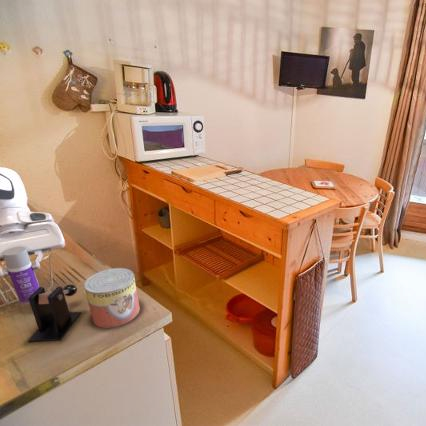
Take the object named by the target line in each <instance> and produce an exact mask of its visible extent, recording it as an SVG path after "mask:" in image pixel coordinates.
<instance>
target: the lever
mask: <svg viewBox="0 0 426 426" xmlns="http://www.w3.org/2000/svg"><path fill="white" fill-rule="evenodd" d="M62 289H63V292H64V296H65V297H72V296H74V295H75V294H77V291H78V287H77V286H76V285H75V284H71V283H70V284H66V285H65V286H64V287H62ZM52 292H53V291H45V293H42V294H39V303H38V304H49V302H48V298H47V297H48V296H49V295H50V294H51V293H52Z"/></svg>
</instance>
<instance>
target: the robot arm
mask: <svg viewBox="0 0 426 426" xmlns="http://www.w3.org/2000/svg"><path fill="white" fill-rule="evenodd" d="M28 200H29V199H28V194H27V191H26V187H25V184H24V182H23V180H22V178H21V176H20V175H19V174H18V173H17V171H15V170H13V169H11V168H9V167H8V168H7V167H3V166H0V277H1V278H5V277H10V275H9V272H8V269H7V267H4V268H3V267H2V262H5V260H4V257H3V254H2V253H3V252H4V251H5V250H7V249H10V248H13V247H25V248H26V250H27V253H28V255H29V256H34V255H35V257H36V258H35V260H34V261H31V265H32V269H33V270H34V271H36V270H40V269H41V261H42V260H43V258H44V254H43V253H47V252H51V251H57V250H60V249H64V248H65V247H66V245H67V244H66V240H65V237H64V235H63V233H62V230H61V228H60V227H59V225H58V224H57V223H56V222H55V219H54V217H53V216H52V213H51V214H50V213H49V212H39V211H38V212H37V211H32V210H31V208H30V207H29V206H28Z"/></svg>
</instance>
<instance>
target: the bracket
mask: <svg viewBox="0 0 426 426" xmlns="http://www.w3.org/2000/svg"><path fill="white" fill-rule="evenodd" d="M45 292H46V289H45V287H44V286H39V288H38V289H37V290H36V291H35V292H34V293H33V294H32V295H31V296H30V297H29V298H28V300H29V302H30V304H29V305H30V308H31V311H32V314H33V316H34V320H35V322H36V326H37V328H38V329H37V330H36V331H35V332H34V333H33V335H32V336H31V337H30V338H29V339H28V341H27V342H28V343H44V342H45V343H46V342H58V341H62V340H63V338H64V337H65V336H66V334H67V333H68V332H69V331H70V330H71V328H72V327H73V325H74V324H75V323H76V321H77V320H78V318H79V317H80V316H81V315H82V311H72V312H70V309H69V306H68V303H67V300H66V296H65V295H64V292H63V286H61V285H60V286H56V288H54V289H53V291H51V292H52V293H51V294H50V295H49V296H48V297H47V298H48V302H49V304H38V303H39V294H42V293H45Z"/></svg>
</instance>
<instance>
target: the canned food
mask: <svg viewBox="0 0 426 426" xmlns="http://www.w3.org/2000/svg"><path fill="white" fill-rule="evenodd" d="M83 288H84V290H85V294H86V299H87V302H88V306H89V310H90V314H91V318H92V321H93V325H95V326H96V327H99V328H103V329H108V328H116V327H120V326H123V325H125V324H127V323H129V322H131V321H133V319H134V318H136V317H137V316H138V314H139V312H140V310H141V307H140V301H139V296H138V290H137V284H136V279H135V273H134V272H133V271H132V270H131V269H129V268H126V267H125V268H124V267H114V268H113V267H112V268H108V269H104V270H101V271H99V272H96V273H95V274H92V275H91V276H89V277H88V278H87V279H86V280H85V281H84V284H83Z"/></svg>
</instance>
